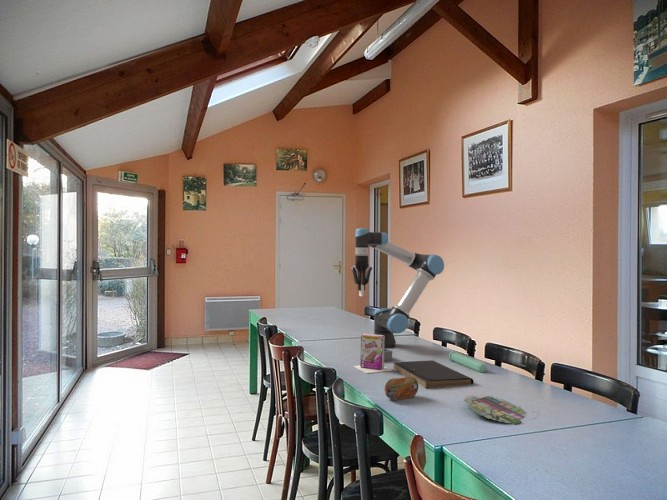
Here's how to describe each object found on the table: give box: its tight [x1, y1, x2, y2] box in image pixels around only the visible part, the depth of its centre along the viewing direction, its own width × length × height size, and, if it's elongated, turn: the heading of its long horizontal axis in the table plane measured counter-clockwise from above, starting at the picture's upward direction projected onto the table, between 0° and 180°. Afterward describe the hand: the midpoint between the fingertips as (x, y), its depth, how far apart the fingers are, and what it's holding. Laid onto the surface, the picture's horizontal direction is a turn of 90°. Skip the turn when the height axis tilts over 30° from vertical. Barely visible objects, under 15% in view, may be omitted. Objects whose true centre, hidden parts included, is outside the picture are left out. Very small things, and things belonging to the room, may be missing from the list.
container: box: [448, 350, 487, 373], centre depth 234 cm, size 6×6×25 cm
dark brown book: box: [392, 359, 475, 389], centre depth 216 cm, size 33×4×24 cm
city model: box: [462, 394, 528, 425], centre depth 168 cm, size 25×23×6 cm
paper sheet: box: [353, 364, 393, 375], centre depth 228 cm, size 14×14×1 cm
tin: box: [384, 376, 419, 402], centre depth 183 cm, size 15×3×8 cm, turn 117°
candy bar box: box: [359, 333, 385, 370], centre depth 228 cm, size 11×5×16 cm, turn 70°
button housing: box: [384, 348, 393, 362], centre depth 248 cm, size 10×10×5 cm
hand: (361, 296), depth 263 cm, fingers closed
